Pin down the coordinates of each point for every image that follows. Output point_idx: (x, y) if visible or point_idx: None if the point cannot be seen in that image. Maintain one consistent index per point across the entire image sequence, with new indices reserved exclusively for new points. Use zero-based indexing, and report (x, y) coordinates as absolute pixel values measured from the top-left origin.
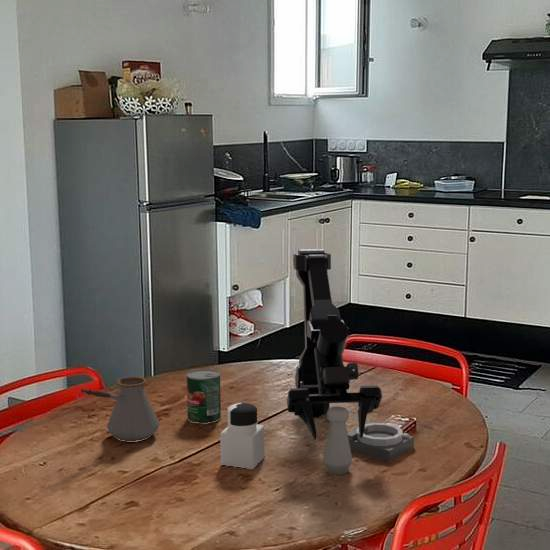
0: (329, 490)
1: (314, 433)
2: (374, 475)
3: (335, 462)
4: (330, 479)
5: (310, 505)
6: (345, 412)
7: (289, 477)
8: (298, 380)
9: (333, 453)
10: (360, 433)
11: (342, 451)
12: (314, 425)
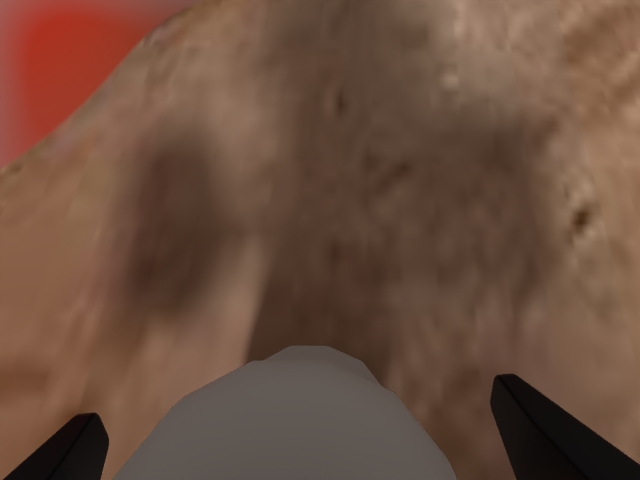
0: (361, 206)
1: (531, 392)
2: (137, 360)
3: (328, 347)
4: (352, 317)
5: (435, 89)
6: (157, 438)
7: (547, 345)
8: None
9: (341, 361)
10: (89, 446)
11: (281, 359)
12: (574, 455)
